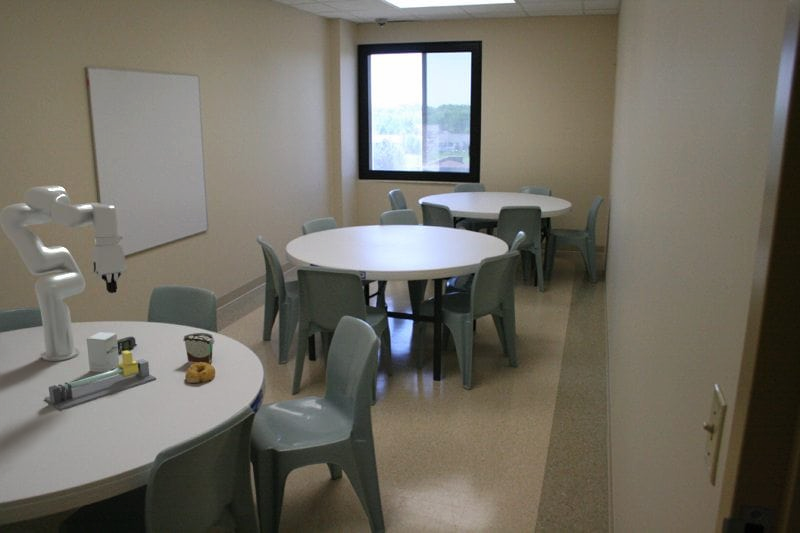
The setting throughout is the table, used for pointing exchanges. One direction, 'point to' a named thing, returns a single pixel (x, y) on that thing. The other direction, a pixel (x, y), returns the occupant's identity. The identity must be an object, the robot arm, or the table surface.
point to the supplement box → (103, 352)
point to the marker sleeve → (128, 364)
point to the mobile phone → (126, 344)
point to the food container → (199, 347)
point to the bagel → (200, 372)
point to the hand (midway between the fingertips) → (112, 292)
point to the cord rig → (97, 386)
